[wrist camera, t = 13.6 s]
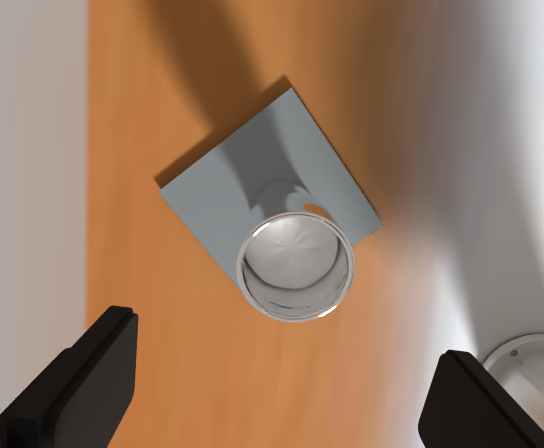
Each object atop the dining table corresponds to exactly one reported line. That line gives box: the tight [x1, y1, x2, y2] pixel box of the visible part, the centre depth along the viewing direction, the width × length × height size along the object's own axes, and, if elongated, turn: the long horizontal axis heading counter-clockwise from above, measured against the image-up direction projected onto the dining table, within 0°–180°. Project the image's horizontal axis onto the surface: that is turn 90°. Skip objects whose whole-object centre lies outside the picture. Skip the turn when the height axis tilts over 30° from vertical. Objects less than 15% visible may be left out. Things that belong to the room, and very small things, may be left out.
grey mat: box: [158, 87, 383, 292], centre depth 33 cm, size 16×16×1 cm
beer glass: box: [236, 180, 355, 323], centre depth 25 cm, size 7×7×15 cm
